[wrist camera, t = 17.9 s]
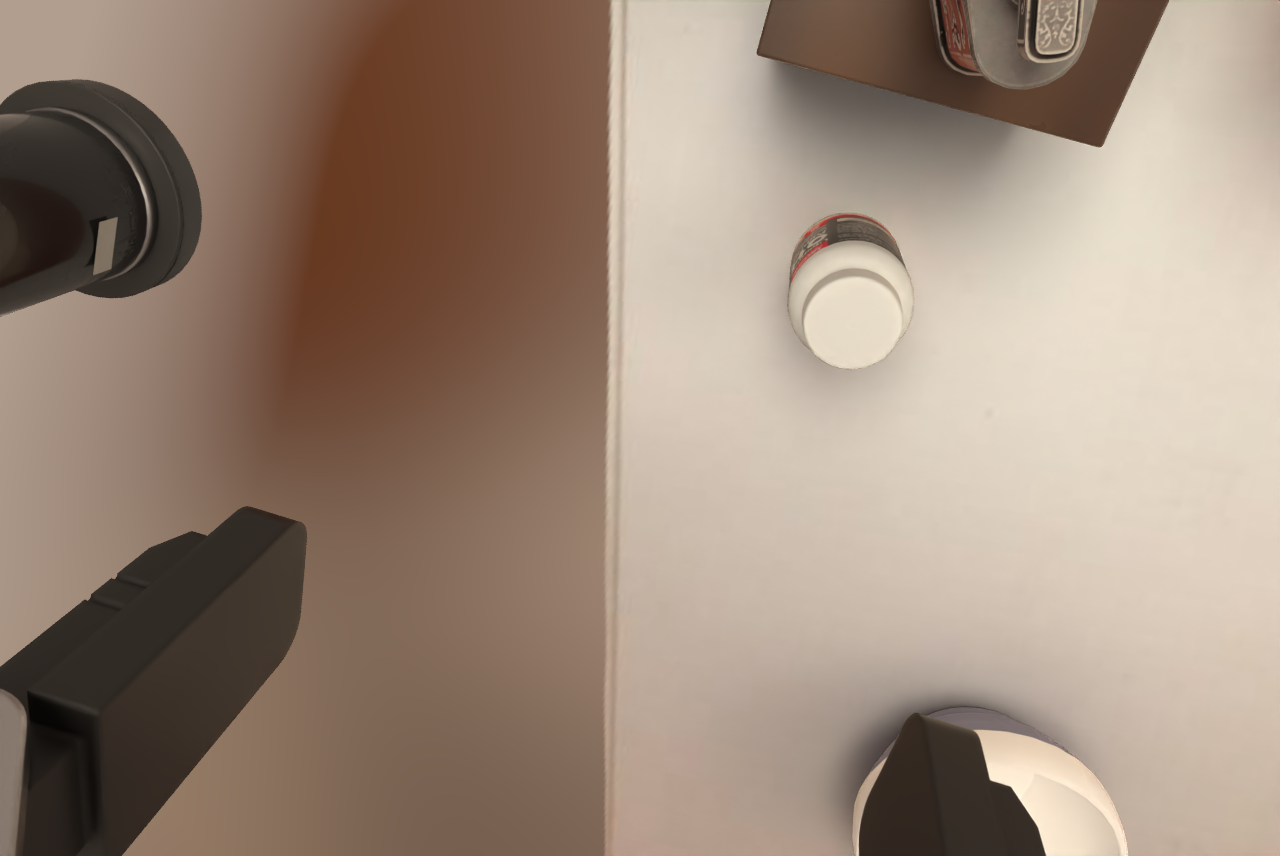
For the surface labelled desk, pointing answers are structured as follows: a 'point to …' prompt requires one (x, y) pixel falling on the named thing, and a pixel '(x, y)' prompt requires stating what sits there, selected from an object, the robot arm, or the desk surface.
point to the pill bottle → (849, 291)
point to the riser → (911, 65)
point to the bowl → (1033, 785)
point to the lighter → (1012, 38)
